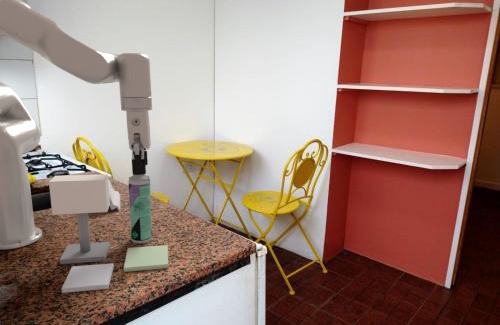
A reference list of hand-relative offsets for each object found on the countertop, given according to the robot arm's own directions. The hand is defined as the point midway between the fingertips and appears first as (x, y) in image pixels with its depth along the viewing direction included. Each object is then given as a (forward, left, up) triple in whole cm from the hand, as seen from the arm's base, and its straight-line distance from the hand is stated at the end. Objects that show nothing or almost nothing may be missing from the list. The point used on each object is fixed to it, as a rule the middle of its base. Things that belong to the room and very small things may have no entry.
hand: (140, 169), depth 97 cm
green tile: (+2, -12, -20) cm, 23 cm away
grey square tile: (-10, -19, -20) cm, 29 cm away
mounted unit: (-13, -7, -20) cm, 25 cm away
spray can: (0, 0, -20) cm, 20 cm away
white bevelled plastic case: (-13, +30, -20) cm, 39 cm away
